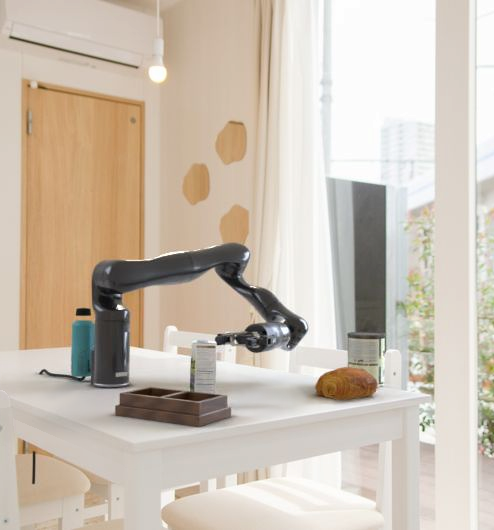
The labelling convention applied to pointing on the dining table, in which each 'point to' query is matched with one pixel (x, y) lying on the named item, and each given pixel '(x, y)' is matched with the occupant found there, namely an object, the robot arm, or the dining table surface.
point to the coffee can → (367, 353)
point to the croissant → (346, 384)
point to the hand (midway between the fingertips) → (231, 341)
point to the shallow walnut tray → (173, 406)
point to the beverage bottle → (82, 344)
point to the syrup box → (203, 366)
